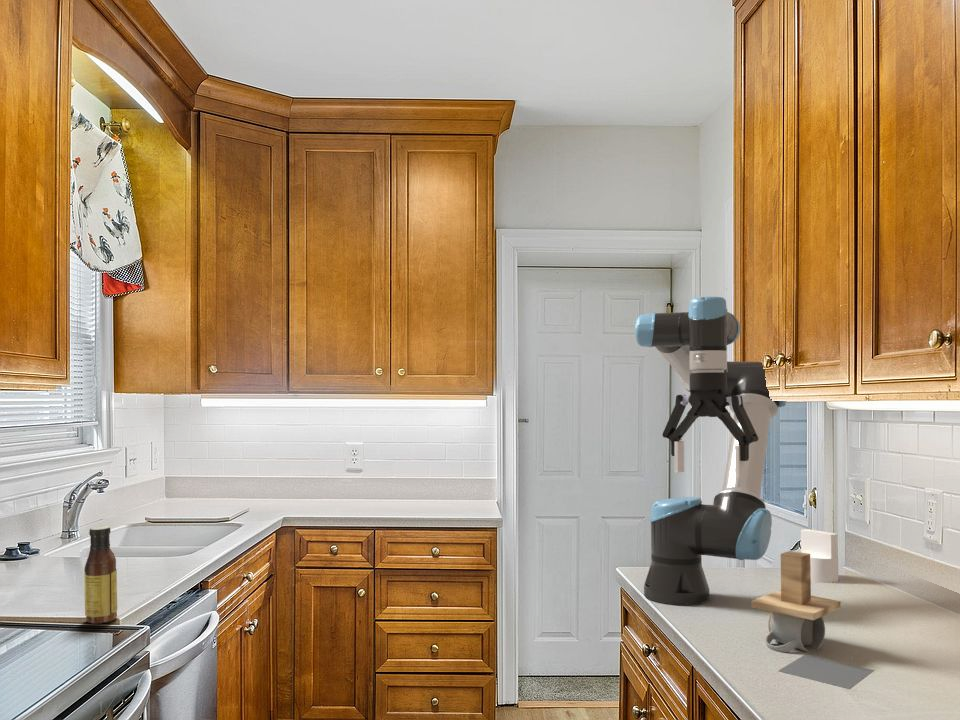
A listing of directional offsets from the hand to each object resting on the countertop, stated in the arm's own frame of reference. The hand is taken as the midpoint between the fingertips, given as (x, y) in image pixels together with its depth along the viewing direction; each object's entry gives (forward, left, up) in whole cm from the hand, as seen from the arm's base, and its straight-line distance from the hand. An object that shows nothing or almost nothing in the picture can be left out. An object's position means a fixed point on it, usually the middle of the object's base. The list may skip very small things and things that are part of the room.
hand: (708, 474), depth 167 cm
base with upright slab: (-60, -1, -32) cm, 68 cm away
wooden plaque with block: (-1, +17, -24) cm, 30 cm away
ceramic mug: (0, +17, -32) cm, 36 cm away
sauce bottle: (+84, -96, -32) cm, 132 cm away
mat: (+9, +27, -32) cm, 42 cm away
